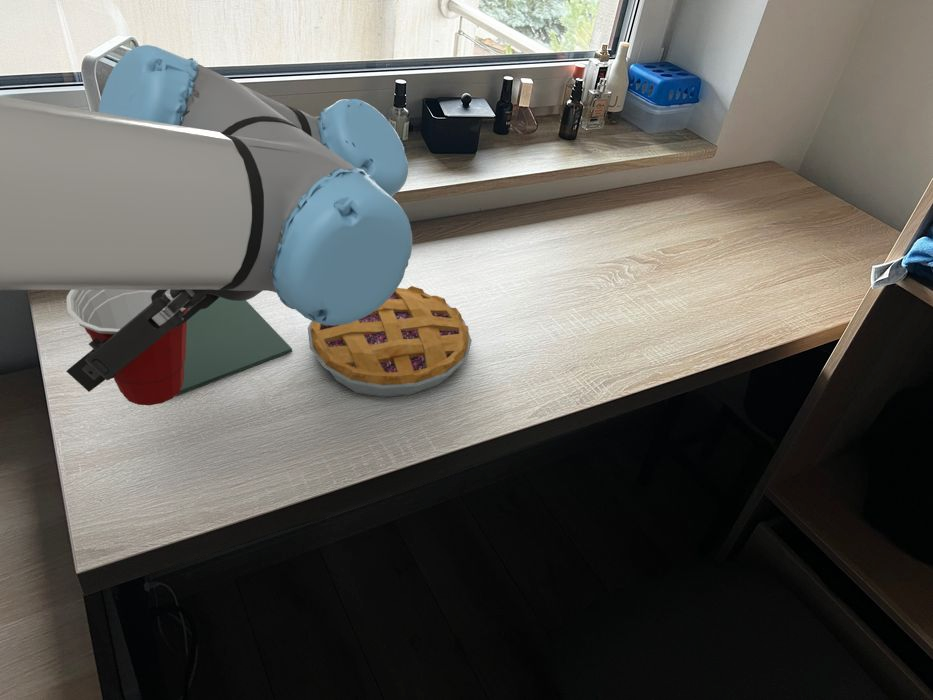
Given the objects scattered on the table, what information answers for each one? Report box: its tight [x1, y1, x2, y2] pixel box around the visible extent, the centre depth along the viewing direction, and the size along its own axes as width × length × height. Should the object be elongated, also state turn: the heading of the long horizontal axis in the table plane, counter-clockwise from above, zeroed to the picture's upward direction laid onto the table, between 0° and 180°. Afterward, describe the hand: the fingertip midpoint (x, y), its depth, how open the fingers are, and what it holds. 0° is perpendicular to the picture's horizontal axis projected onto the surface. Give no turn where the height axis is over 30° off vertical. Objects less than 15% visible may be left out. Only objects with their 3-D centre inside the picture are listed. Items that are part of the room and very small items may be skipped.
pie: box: [307, 285, 473, 398], centre depth 98 cm, size 22×22×5 cm
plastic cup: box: [66, 290, 188, 406], centre depth 69 cm, size 11×11×12 cm
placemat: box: [175, 297, 293, 397], centre depth 98 cm, size 16×20×1 cm
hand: (116, 347), depth 71 cm, fingers closed on plastic cup, 10 cm apart
